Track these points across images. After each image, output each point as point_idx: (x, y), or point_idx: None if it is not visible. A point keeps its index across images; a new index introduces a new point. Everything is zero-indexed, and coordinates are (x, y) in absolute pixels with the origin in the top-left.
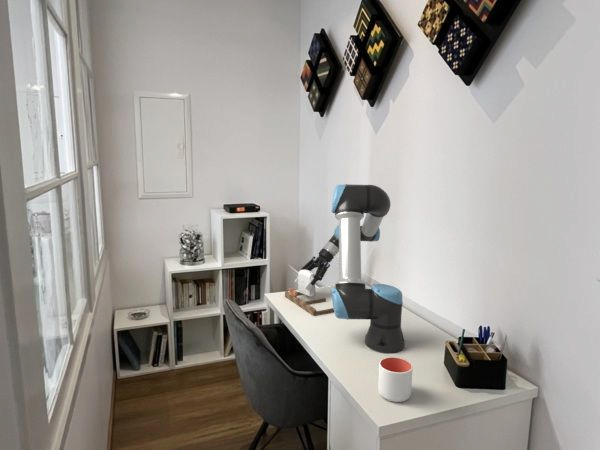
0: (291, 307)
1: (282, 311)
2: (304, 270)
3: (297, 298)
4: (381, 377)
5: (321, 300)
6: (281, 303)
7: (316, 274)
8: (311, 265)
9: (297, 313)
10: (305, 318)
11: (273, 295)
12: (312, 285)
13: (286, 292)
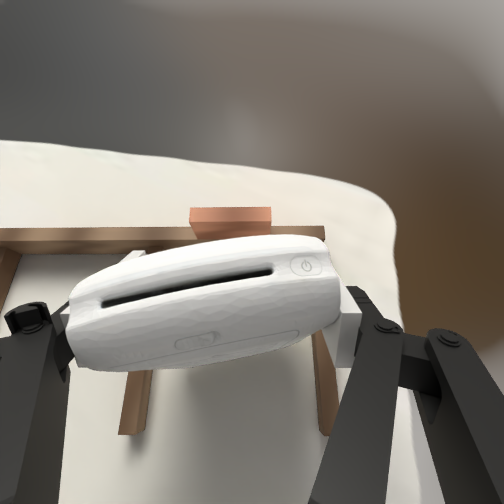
0: (167, 207)
1: (149, 159)
2: (221, 254)
3: (176, 232)
4: None
5: (129, 391)
6: (236, 190)
7: (11, 358)
8: (318, 477)
9: (91, 199)
10: (24, 203)
11: (359, 201)
12: None
13: (304, 226)
